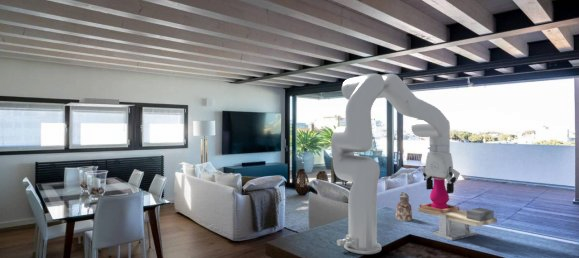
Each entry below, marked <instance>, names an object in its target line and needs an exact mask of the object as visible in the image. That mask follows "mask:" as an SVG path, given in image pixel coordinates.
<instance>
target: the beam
mask: <svg viewBox="0 0 579 258" xmlns="http://www.w3.org/2000/svg"><path fill="white" fill-rule="evenodd" d="M431 203H432V202H430V203H429V202H428V203H424V204H419V207H418V212H419V213H422V214H427V215H429V216H433V217H438V218H439V214H443V215H447V216H448V219H449V220H453V221H457V222H460V223H464V224H468V225H471V226H473V227H481V226H487V225H491V224H496V223H498V218H496V217H494V214H495V213H494V211H495V210H493V209H492V210H491V209H488V208H487V209H486V208H484V207H483V208H482V207H478V208H471V209H467V210H466V211H463V210H464V209H460V206H456V205H450V204H448V209H437V208H433V207H431Z"/></svg>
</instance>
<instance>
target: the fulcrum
mask: <svg viewBox="0 0 579 258" xmlns="http://www.w3.org/2000/svg"><path fill="white" fill-rule="evenodd" d="M462 210H463V211H467V210H465V209H462ZM438 221H439V222H438V224H439V225H438V226H439V228H438V229H439V230H436V231H433V235H434V236H438V237H440V238H443V239H446V240H449V241H455V240H459V239H465V238H468V237H469V238H470V237H472V236H477V235H478V232H477V231H475V230H471V228H472V227H471V226H472V225H468V224H464V223H460V222H457V221H453V220H449V219H448V216H447V215H443V214H439V217H438ZM464 237H465V238H464Z"/></svg>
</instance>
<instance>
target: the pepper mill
mask: <svg viewBox="0 0 579 258" xmlns="http://www.w3.org/2000/svg"><path fill="white" fill-rule="evenodd" d="M432 180H433V189H431V191H430V194H429V199H430V201H431V202H430V203H431V207H433V208H437V209H448V205H449V204H448V202H449V201H450V196H449V193H447V187H446V183H445V182H446V181H445V180H446V178H438V177H433V178H432Z"/></svg>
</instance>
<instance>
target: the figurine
mask: <svg viewBox="0 0 579 258" xmlns="http://www.w3.org/2000/svg"><path fill="white" fill-rule="evenodd" d="M409 199H410V198H409V195H408V194H407V192H403V191H402V192H401V193H400V195H399V202H398V203H397V204H396V209H395V211H396V212H395V219H396V220H398V221H401V222H411V221H413V212H412V205H411V203H410V202H409V201H410V200H409Z"/></svg>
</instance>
